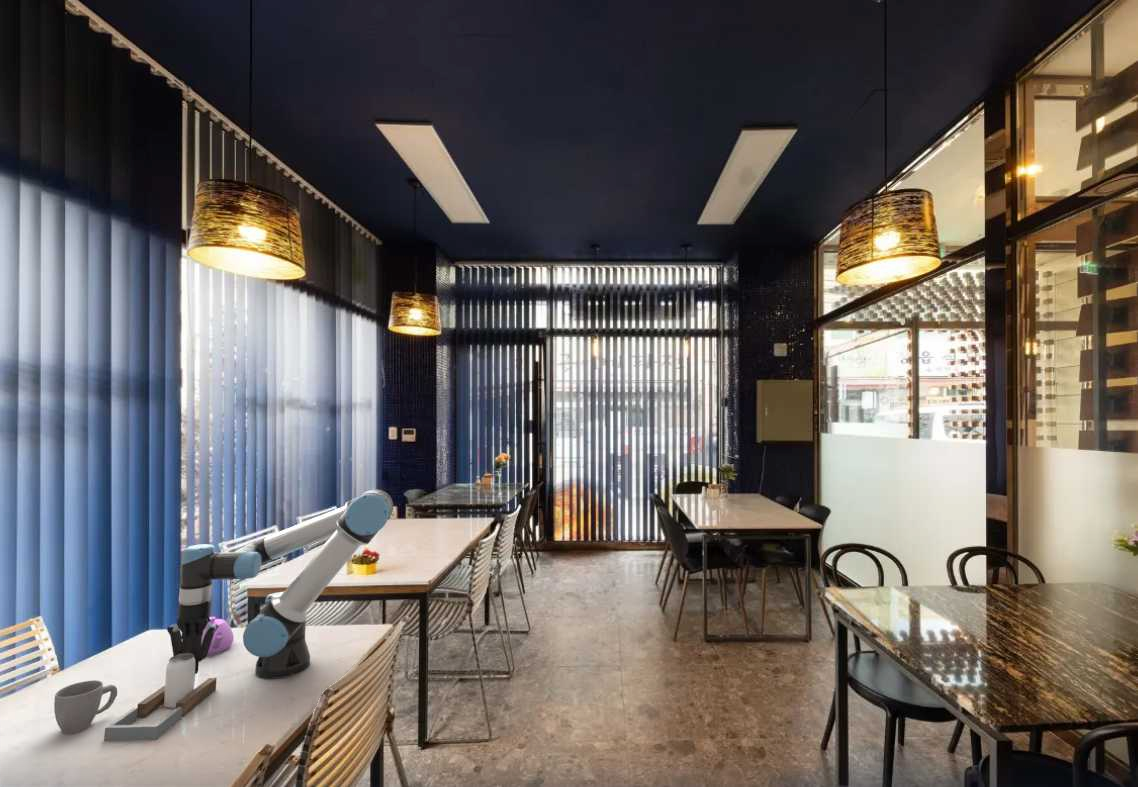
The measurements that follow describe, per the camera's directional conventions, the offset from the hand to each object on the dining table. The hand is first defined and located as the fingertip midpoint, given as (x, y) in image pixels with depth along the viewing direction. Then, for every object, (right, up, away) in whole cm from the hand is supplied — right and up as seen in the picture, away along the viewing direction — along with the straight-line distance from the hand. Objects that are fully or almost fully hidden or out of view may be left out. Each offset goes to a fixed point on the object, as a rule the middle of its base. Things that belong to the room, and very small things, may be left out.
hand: (188, 686), depth 147 cm
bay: (+2, -1, -18) cm, 18 cm away
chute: (+1, -2, -5) cm, 6 cm away
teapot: (-14, -5, +29) cm, 33 cm away
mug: (-14, -1, -16) cm, 22 cm away
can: (+1, -2, -5) cm, 5 cm away
